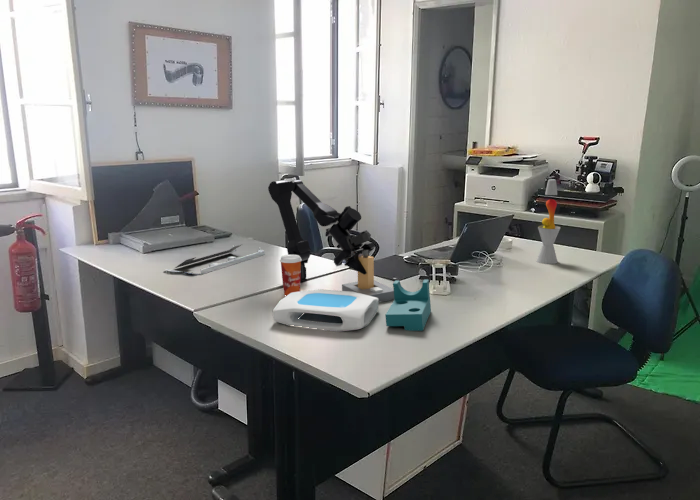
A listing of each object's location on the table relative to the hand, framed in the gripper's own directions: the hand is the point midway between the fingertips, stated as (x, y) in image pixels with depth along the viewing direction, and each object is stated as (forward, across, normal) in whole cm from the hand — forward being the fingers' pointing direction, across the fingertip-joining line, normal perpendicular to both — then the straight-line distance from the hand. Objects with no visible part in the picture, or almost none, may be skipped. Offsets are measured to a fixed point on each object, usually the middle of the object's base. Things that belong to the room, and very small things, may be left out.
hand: (368, 272), depth 201 cm
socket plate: (+6, -1, +5) cm, 8 cm away
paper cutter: (-52, +1, +65) cm, 83 cm away
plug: (+4, 0, +6) cm, 7 cm away
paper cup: (-10, -15, +22) cm, 29 cm away
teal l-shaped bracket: (+24, -14, -12) cm, 30 cm away
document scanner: (+8, -27, +4) cm, 29 cm away
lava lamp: (+32, +81, -20) cm, 90 cm away
